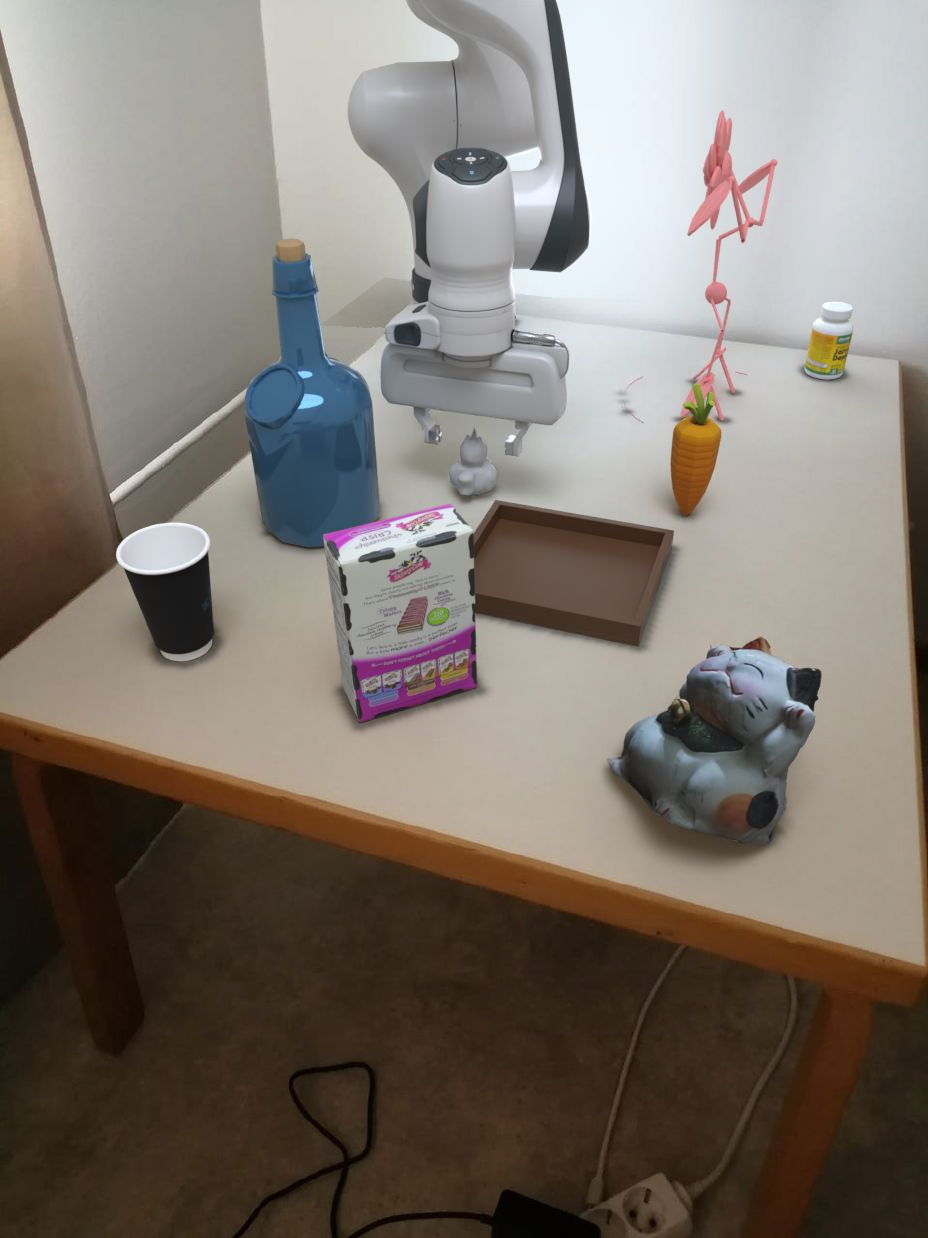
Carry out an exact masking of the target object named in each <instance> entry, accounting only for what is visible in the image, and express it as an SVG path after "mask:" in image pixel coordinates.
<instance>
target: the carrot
mask: <svg viewBox="0 0 928 1238" xmlns="http://www.w3.org/2000/svg"><path fill="white" fill-rule="evenodd" d="M692 387H693V391H694V395H695V399H696V402H697V405H695V406H694V404H693V402H691V401H688V402H686V403H685V402H684V403H682V408H683V407H684V408H686V409H688V410H689V411H690V412H691V413H690V414H691V415H692V416H684V417H683V418H681V420H680V421H679V422H678V423H676V424H675V425H674V428H673V431H672V439H671V440H672V441H671V451H670V478H671V489H672V493H673V496H674V499H675V502H676V504H677V507H678V510H679V512H680V513H681V514H682V515H683V516H685V517H687V516H689V515H690V514H691V513H692V512H693V511H694V510H695V508H696V507H697V506H698V505H699V503H700V502H701V500H702V499H703V497H704V495H705V493H706V492H707V489H708V487H709V484H710V483H711V480H712V476H713V474H714V471H715V468H716V465H717V460H718V456H719V455H718V454H719V450H720V445H721V440H722V433H723V432H722V428H721V427H720V426H719V425H718V423H716V421H715V420H714V419H712V418H709V415H710V414H711V410H712V409H713V408H714V407H715V405H714V404H715V403H714V394H713V393H712V392H708V394H707V397H706V399H705V400H706V401H705V400H704V399H703V394H702V390H701V387H700V384H698V383H696V382H695V383H694V384H692V386H691V388H692Z"/></svg>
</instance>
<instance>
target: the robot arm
mask: <svg viewBox="0 0 928 1238" xmlns="http://www.w3.org/2000/svg"><path fill="white" fill-rule="evenodd" d="M405 1H406V4H407V6H408V9H410V11H411V12H412V14H413V15H414V16H416V18H417V19H418V20H420V21H421V22H423V23H424V24H425V25H427V26H429V27H430V28H432V29H434V30H436V31H438V32H440V33H442V34H444V35H446V36H447V37H449V38H450V39H452V40H453V42H455V44H456V45H457V48H458V56H457V57H456V58H455V59H451V60H440V61H439V60H437V61H404V62H403V61H402V62H401V61H400V62H395V63H390V64H386V65H382V66H378V67H375V68H371V69H368V70H365V71H362V72H361V73H360V74H359V75H358V77H357V78H356V80H355V82H354V83H353V85H352V87H351V90H350V93H349V96H348V102H347V122H348V125H349V129H350V133H351V134H352V137H353V139H354V141H355V143H356V145H357V146H358V147H359V148H360V150H361V151H362V152H363V153H364V154H365V155H366V156H367V157H368V158H370V159H371V160H373V161H374V162H375V163H376V164H378V165H379V166H380V167H381V168H382V169H383V170H384V171H385V172H386V173H387V174H388V175H389V176H390V177H391V179H392V180H393V181H394V183H395V184H396V186H397V188H398V190H399V191H400V193H401V195H402V197H403V200H404V201H405V204H406V208H407V211H408V216H409V221H410V227H411V236H412V237H411V238H412V246H413V260H414V261H413V262H414V267H413V269H412V270H411V280H410V287H411V294H412V298H413V299H412V301H411V302H410V303H408V304H407V306H406V307H405V308H404V309H403V310H401V311H400V312H398V313H397V314H396V315H395V316H393V317H392V318H391V319H390V320H389V322H387V323H386V325H385V326H384V337H385V340H386V342H387V343H388V344H386V346H385V347H384V348H383V351H382V354H381V360H380V393H381V395H382V396H383V398H384V399H385V400H386V402H387V403H389V404H392V405H396V406H397V405H398V406H406V407H412V408H413V416H414V418H415V419H416V421H417V423H418V424H419V427H421V429H422V430H423V434H424V443H425V444H429V445H436V446H438V445H440V444H439V443H441V442H442V440H443V433H442V432H443V425H442V424H437V423H435V421H434V419H433V417H432V415H431V413H430V411H431V410H435V411H443V412H448V413H457V414H462V415H463V414H464V415H470V416H478V417H485V418H493V419H498V420H499V419H500V420H507V421H514V429H515V430H519V431H518V432H517V434H516V435H513V434H509V436H508V437H507V439H506V440H505V441H504V449H505V450H504V455H505V456H509V457H516V458H519V457H520V456H521V454H522V451H523V439H524V437H525V436H526V435H527V432H528V431H529V430H530V429H531V427H532V425H533V424H535V425H542V426H554V425H555V424H556V423H557V422H558V421H559V420H560V419H561V418H562V416H563V415H564V413H565V411H566V408H567V381H566V375H567V373H568V371H569V366H570V351H569V348H568V346H567V345H566V344H565V342H563V341H562V340H560V339H558V338H557V336H556V335H554V334H551V333H550V334H549V333H535V332H533V331H526V330H519V329H516V319H517V315H516V290H515V289H516V288H515V285H514V282H513V270H529V271H533V272H534V271H535V272H546V273H547V272H549V273H551V272H552V273H563V271H565V270H567V269H568V268H569V267H571V266H572V265H573V264H574V263H575V262H576V261H578V259H579V258H581V256H583V255H584V253H585V252H586V251H587V250H588V248H589V244H590V239H591V236H592V235H591V234H592V228H593V227H592V224H593V220H592V219H593V217H592V208H591V202H590V198H589V194H588V190H587V186H586V184H585V179H584V178H585V177H584V173H583V167H582V161H581V153H580V147H579V139H578V130H577V124H576V114H575V108H574V99H573V92H572V84H571V75H570V69H569V63H568V54H567V48H566V47H567V46H566V42H565V35H564V29H563V23H562V18H561V13H560V10H559V9H560V8H559V5H558V3H557V0H405ZM534 151H538V156H539V163H538V165H537V166H536V167H535V168H531V169H527V170H511V165H510V162H509V160H508V158H511V157H515V156H521V155H524V154H527V153H531V152H534Z"/></svg>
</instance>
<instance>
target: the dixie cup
mask: <svg viewBox="0 0 928 1238" xmlns="http://www.w3.org/2000/svg"><path fill="white" fill-rule="evenodd" d="M210 547H211V538H210V536H209V534H208V533H207V532H206V531H205V530H204V529H202V528H201V527H200V526H197V525H194V524H190V523H186V522H162V523H156V524H152V525H148V526H146V527H143V528H140V529H138V530H136V531H134V532H132V533H131V534H129V535H128V536H126V537H125V538H124V539H123V540H122V541H121V542H120V543H119V545H118V546H117V547H116V552H115V556H116V557H115V558H116V561H117V563H118V564H119V565H120V567H122V568H123V570H124V573H125V575H126V578H127V580H128V583H129V584H130V587H131V590H132V592H133V594H134V597H135V600H136V602H137V604H138V607H139V609H140V611H141V614H142V616H143V618H144V621H145V623H146V626H147V628H148V631H149V633H150V635H151V638H152V641H153V643H154V645H155V647H156V648H157V650H159V651H160V653H161V655H162V656H163V658H165V659H167V660H169V661H172V662H173V661H174V662H188V661H192V660H195V659H198V658H200V657H202V656H204V655H205V654H207V652H209V650H210V649H211V648H212V645H213V637H214V634H215V625H214V611H213V600H212V599H213V597H212V586H211V585H212V583H211V572H210V571H211V570H210V557H209V550H210Z"/></svg>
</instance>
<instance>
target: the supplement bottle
mask: <svg viewBox="0 0 928 1238" xmlns="http://www.w3.org/2000/svg"><path fill="white" fill-rule="evenodd" d="M853 310H854V307H853V305H851V304H849V303H847V302H844V301H833V300H832V301H827V302H824V303H823V304H822V306H821V310H820V317H818V318H816V319H815V321H814V322H813V325H812V329H811V333H810V338H809V344H808V348H807V354H806V359H805V363H804V372H805V373H806V375H808V376H809V377H811V378H815V379H819V380H836V379H838V378H840V377H842V375H843V374H844V371H845V367H846V363H847V358H848V354H849V351H850V347H851V346H850V345H851V342H852V338H853V333H854V323H853V322H852V321H851V320H850V319H851V318H852V315H853Z"/></svg>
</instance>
